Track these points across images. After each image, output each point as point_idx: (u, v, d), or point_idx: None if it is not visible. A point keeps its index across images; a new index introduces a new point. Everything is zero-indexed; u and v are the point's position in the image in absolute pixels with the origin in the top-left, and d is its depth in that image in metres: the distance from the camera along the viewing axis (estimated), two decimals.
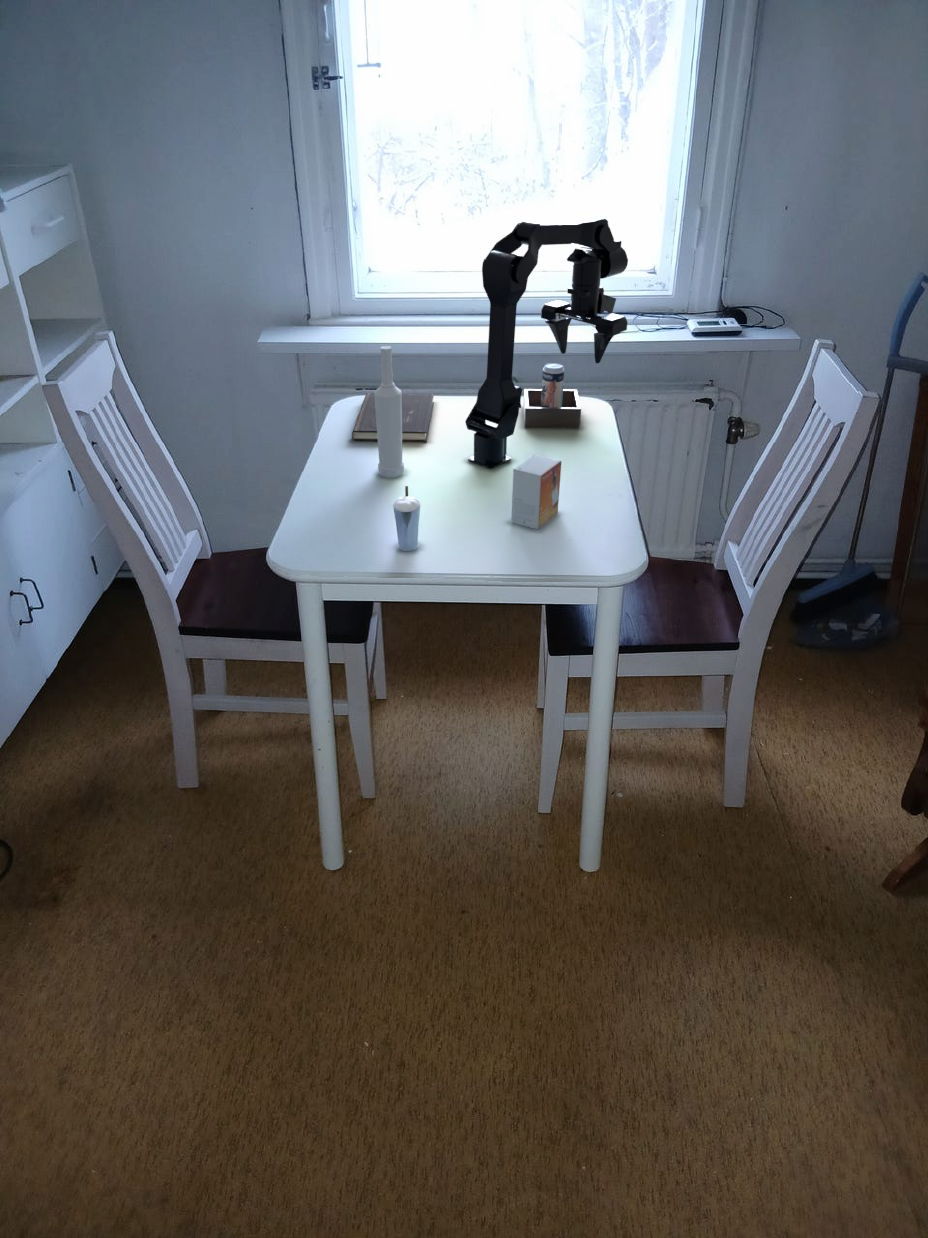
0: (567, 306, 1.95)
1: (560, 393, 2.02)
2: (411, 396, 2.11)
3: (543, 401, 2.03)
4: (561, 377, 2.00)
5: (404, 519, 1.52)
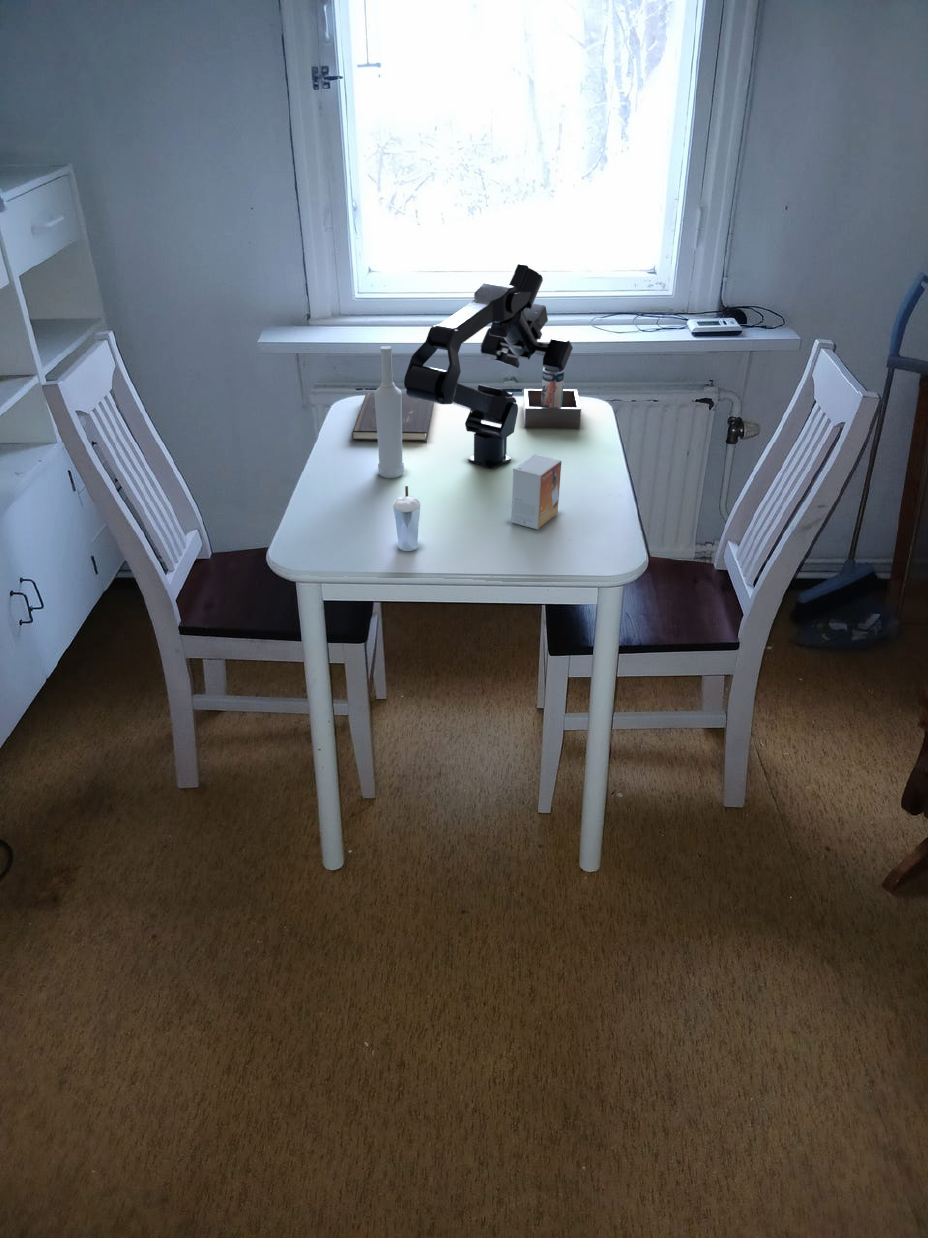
0: None
1: (560, 393, 2.02)
2: None
3: (543, 401, 2.03)
4: (561, 377, 2.00)
5: (404, 519, 1.52)
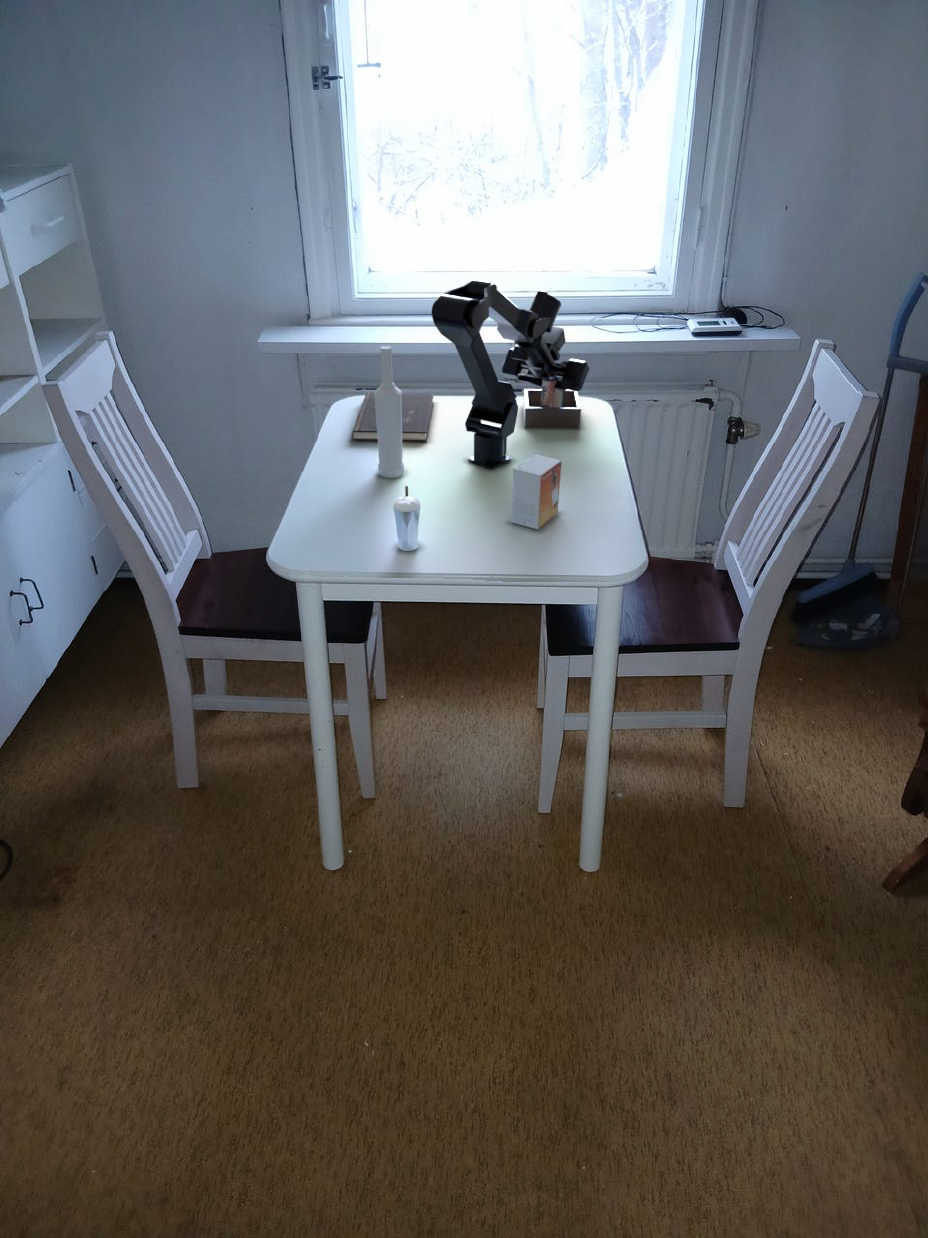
0: None
1: (560, 393, 2.02)
2: (411, 396, 2.11)
3: (543, 401, 2.03)
4: None
5: (404, 519, 1.52)
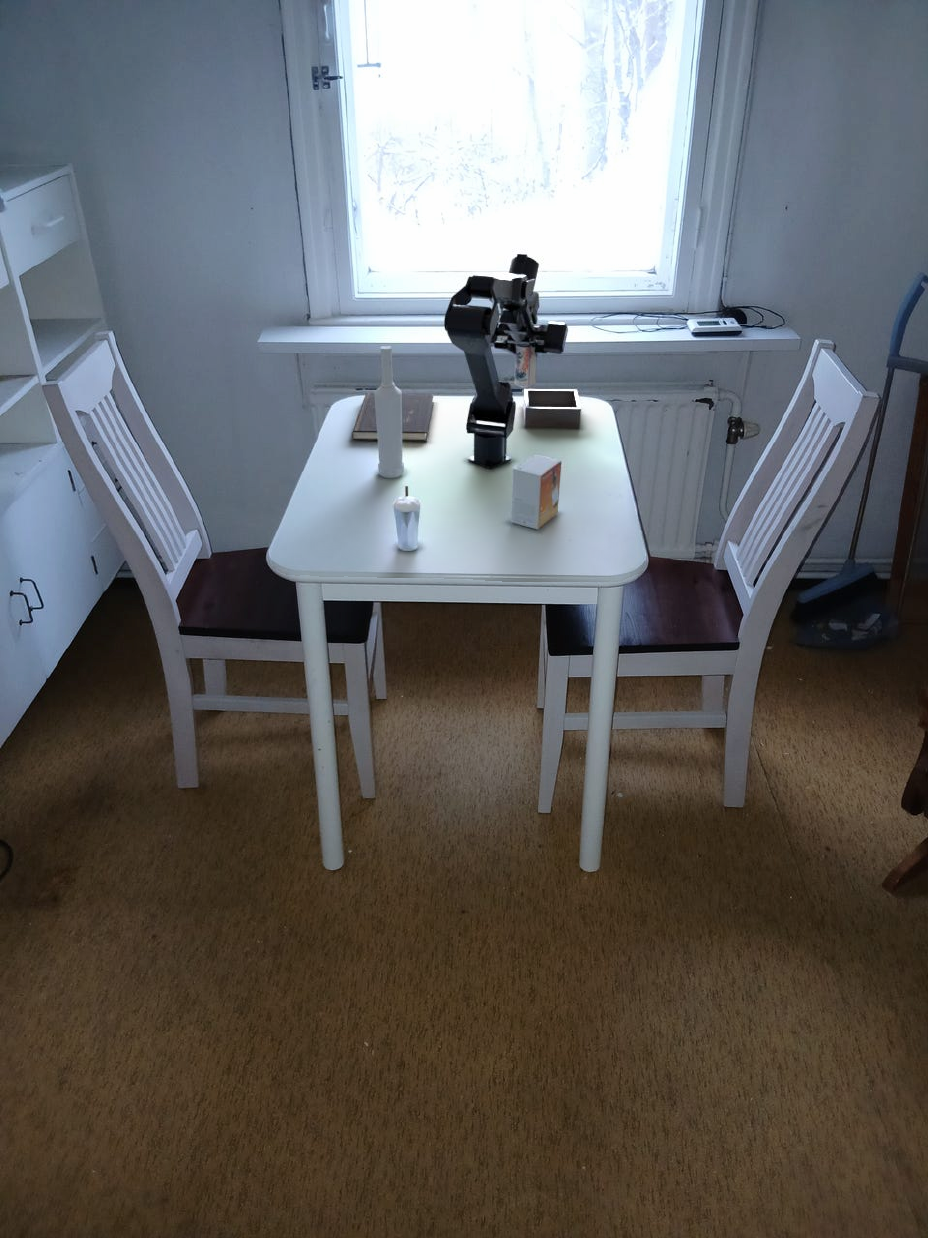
0: (498, 322, 1.95)
1: (535, 358, 2.01)
2: (411, 396, 2.11)
3: (518, 368, 2.01)
4: None
5: (404, 519, 1.52)
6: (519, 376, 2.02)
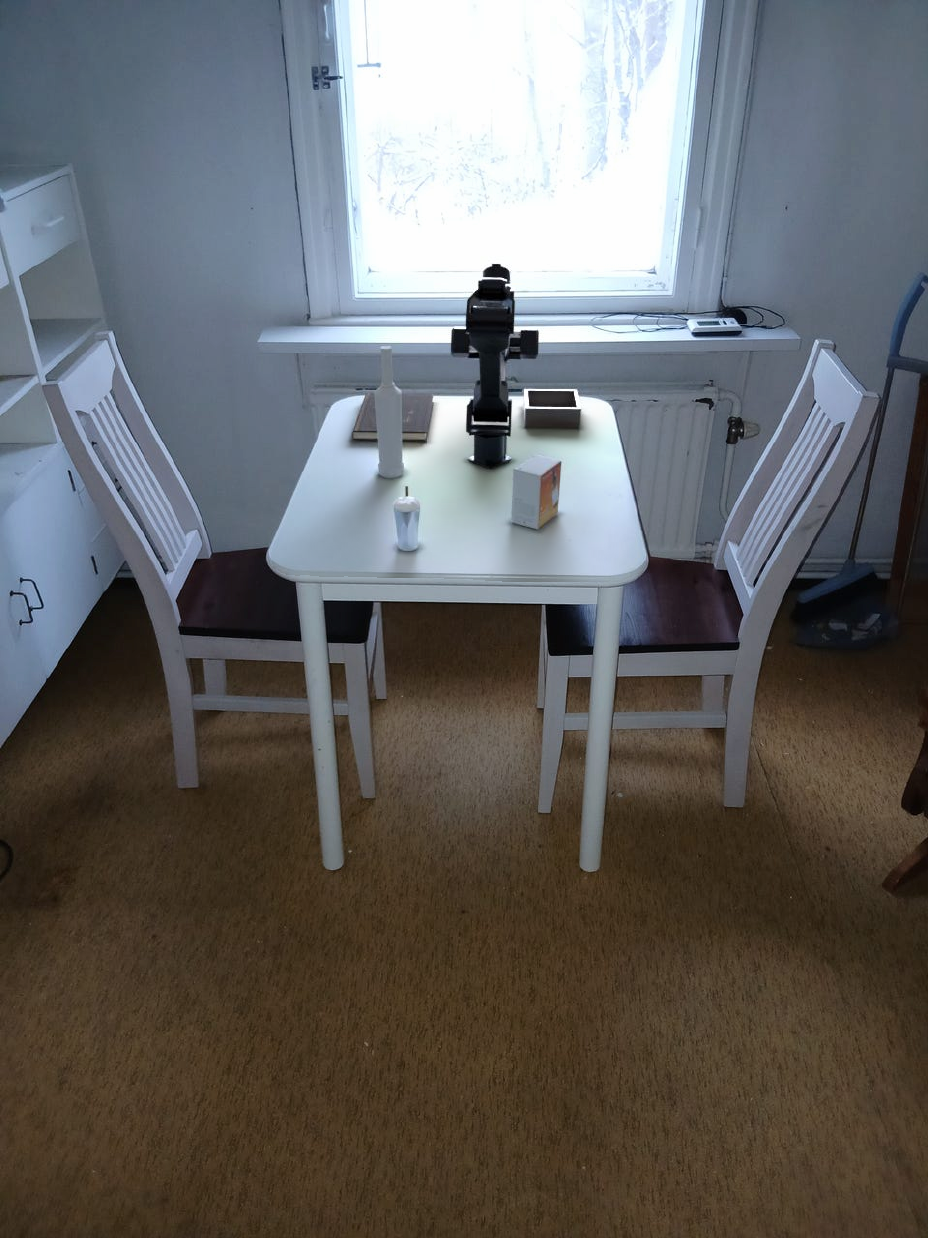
0: None
1: (504, 365, 2.03)
2: (411, 396, 2.11)
3: None
4: None
5: (404, 519, 1.52)
6: None
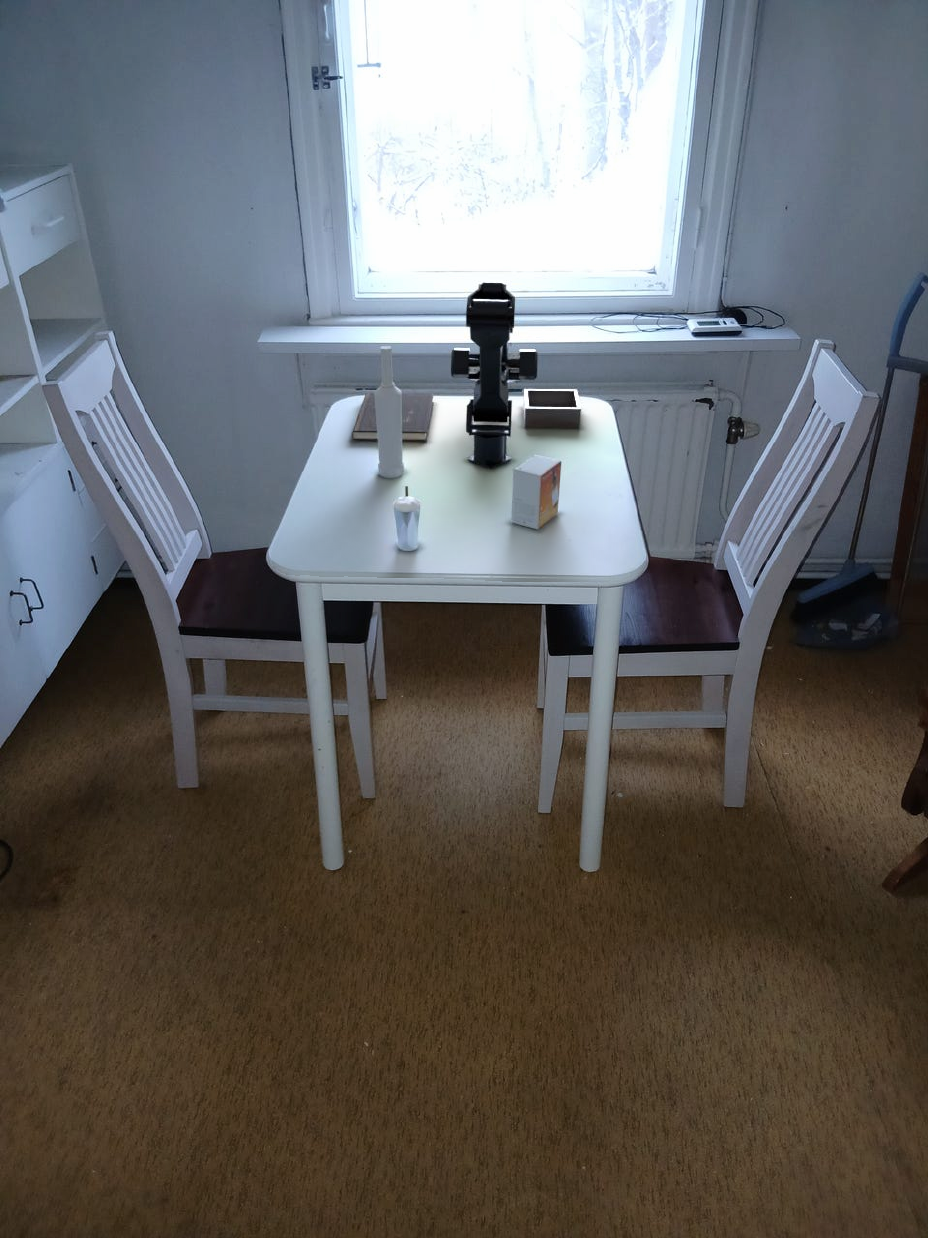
0: (469, 354, 1.99)
1: None
2: (411, 396, 2.11)
3: None
4: None
5: (404, 519, 1.52)
6: None
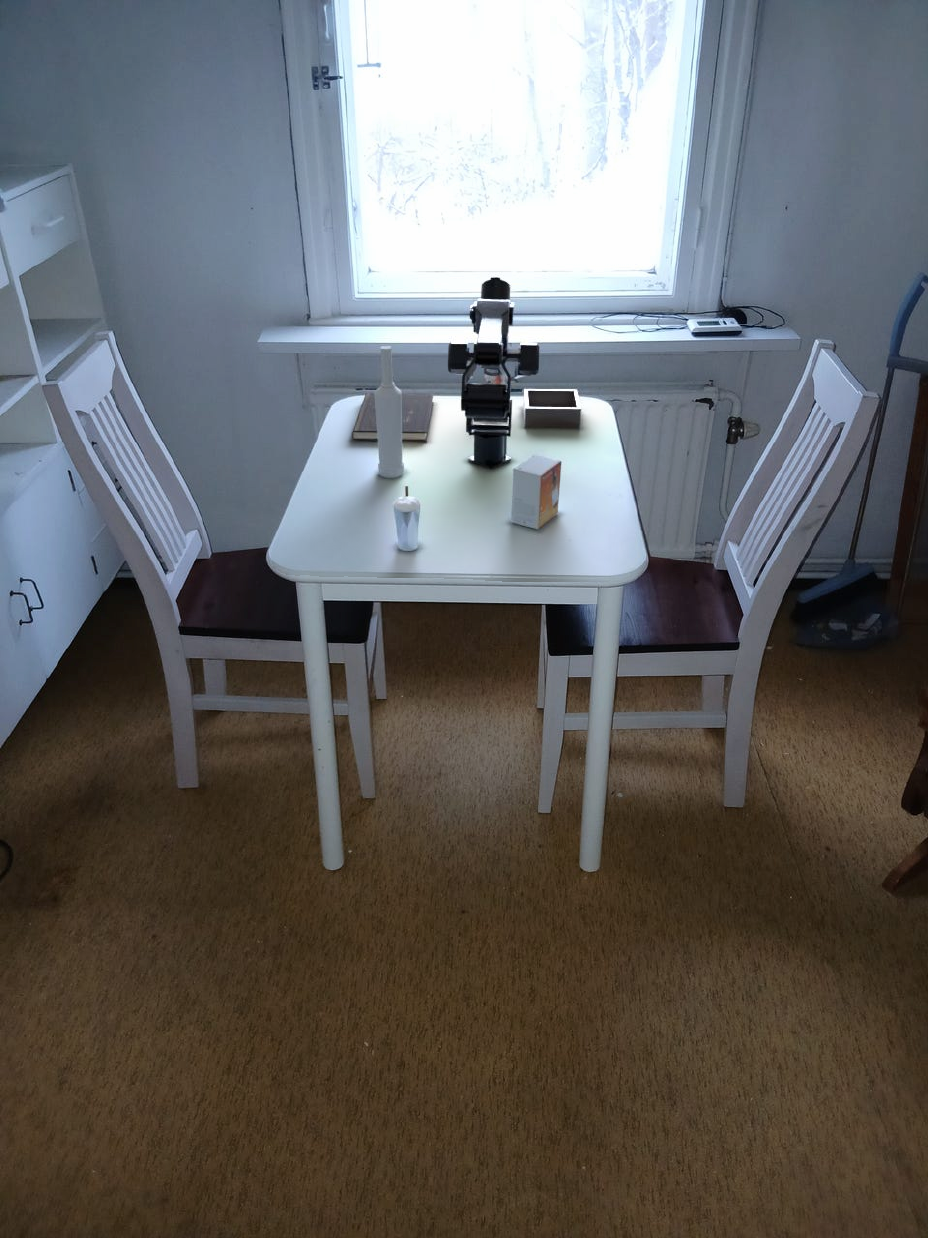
0: (467, 348, 1.88)
1: None
2: (411, 396, 2.11)
3: None
4: None
5: (404, 519, 1.52)
6: None
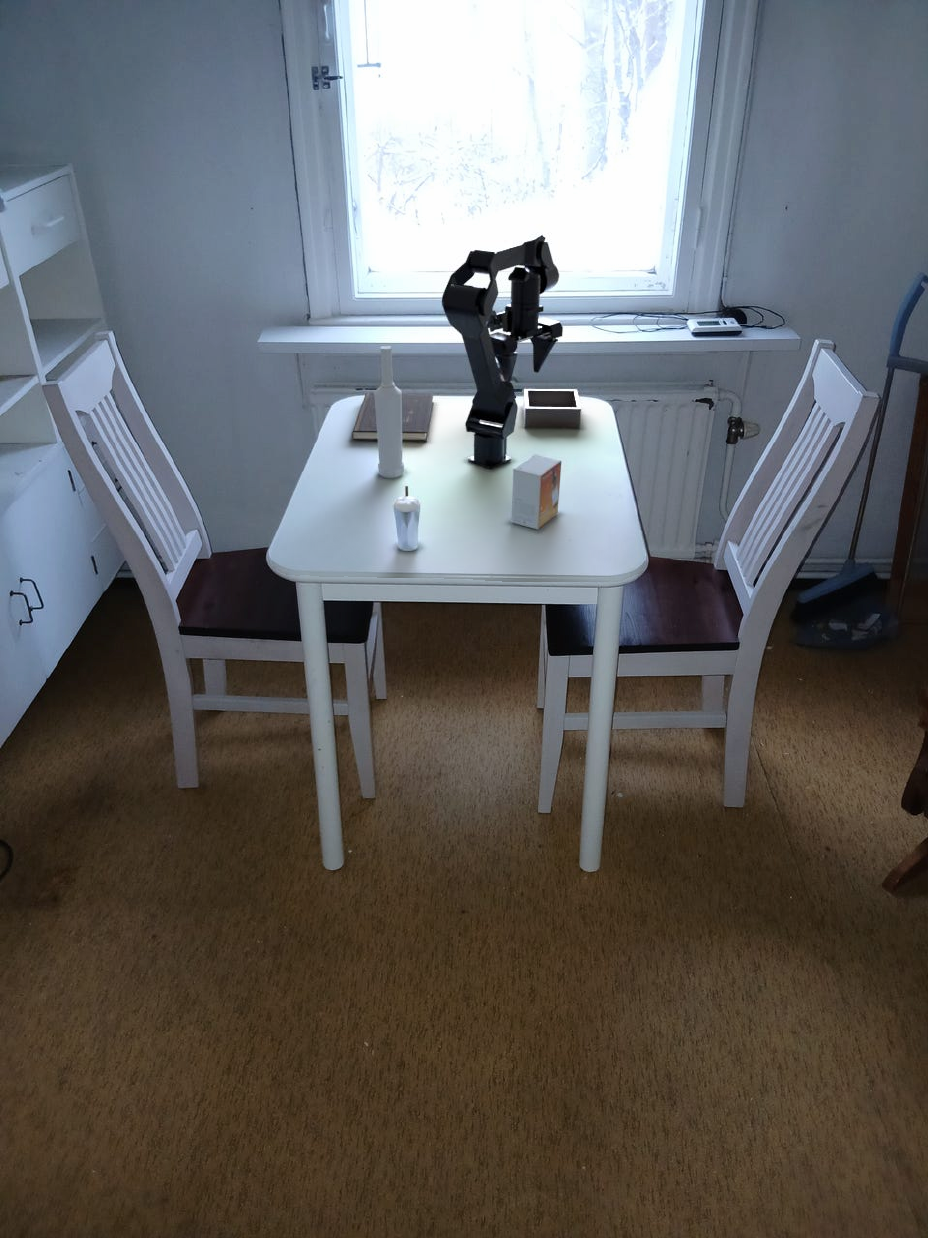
0: None
1: None
2: (411, 396, 2.11)
3: None
4: None
5: (404, 519, 1.52)
6: None
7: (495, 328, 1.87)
